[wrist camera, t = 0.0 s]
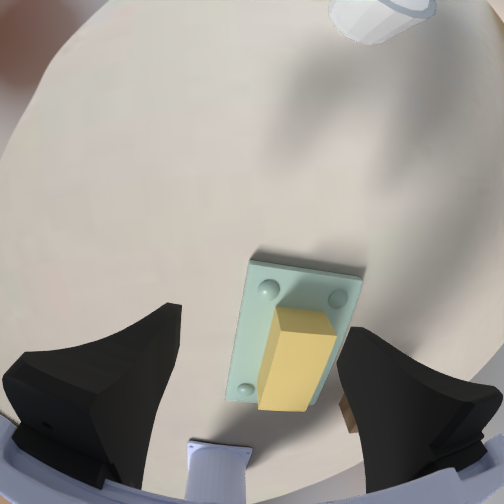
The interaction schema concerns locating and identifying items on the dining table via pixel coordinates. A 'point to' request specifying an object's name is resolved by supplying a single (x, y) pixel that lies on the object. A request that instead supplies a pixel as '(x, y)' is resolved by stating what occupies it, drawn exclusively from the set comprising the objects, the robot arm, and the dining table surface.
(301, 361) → the ochre brick
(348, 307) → the plate
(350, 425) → the walnut block
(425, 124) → the dining table surface
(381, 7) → the shot glass
